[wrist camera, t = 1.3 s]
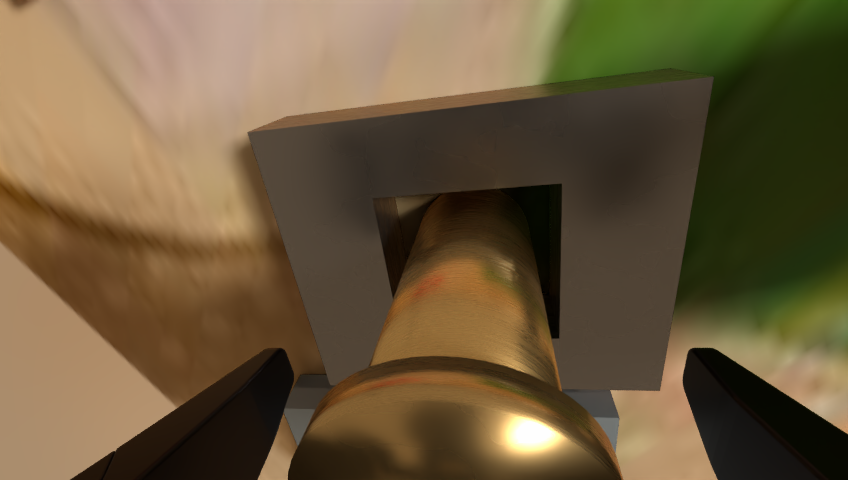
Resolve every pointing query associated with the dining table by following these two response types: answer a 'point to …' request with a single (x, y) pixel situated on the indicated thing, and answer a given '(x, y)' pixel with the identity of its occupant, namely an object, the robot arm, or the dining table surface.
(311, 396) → the tray
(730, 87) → the dining table surface
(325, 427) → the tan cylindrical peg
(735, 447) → the robot arm
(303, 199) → the block
